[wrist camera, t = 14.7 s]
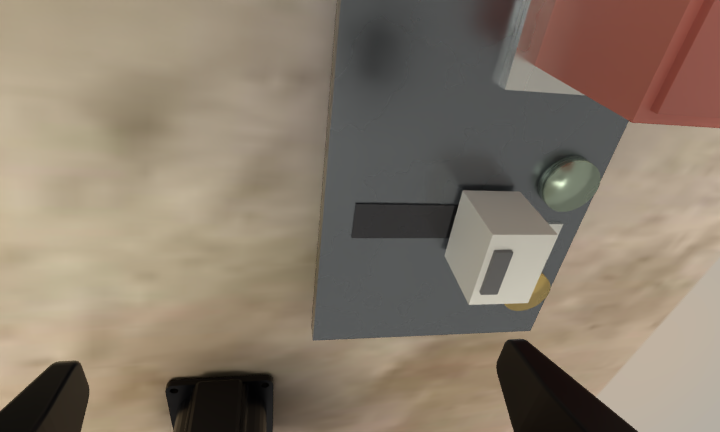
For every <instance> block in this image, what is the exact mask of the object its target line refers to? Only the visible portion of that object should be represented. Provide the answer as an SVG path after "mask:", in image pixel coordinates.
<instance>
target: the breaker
mask: <svg viewBox="0 0 720 432" xmlns="http://www.w3.org/2000/svg"><path fill="white" fill-rule="evenodd" d="M557 236H558V234H557V233H556V232H555V231H554V230H553V228H552V227H551V226H550V225H549V224H548V223H547V222H546V220H545V219H544V218H543V217H542V216H541V215H540V214H539V213H538V211H537V210H536V209H535V208H534V207H533V206H532V205H531V203H530V202H529V201H528V200H527V199H526V198H525V197H524V196H523V194H522V193H521V192H518V191H473V190H463V191H462V195H461V198H460V202H459V205H458V209H457V213H456V216H455V220H454V223H453V227H452V231H451V234H450V238H449V241H448V245H447V248H446V252H445V258H446V260H447V262H448V264H449V266H450V268H451V270H452V272H453V274H454V276H455V278H456V280H457V282H458V284H459V286H460V288H461V290H462V292H463V294H464V296H465V298H466V300H467V302H468V304H469V305H482V304H514V303H528V302H529V299H530V297H531V295H532V293H533V290H534V288H535V286H536V284H537V281H538V279H539V277H540V275H541V272H542V270H543V268H544V266H545V263H546V261H547V259H548V257H549V254H550V252H551V250H552V248H553V245H554V243H555V241H556V238H557Z"/></svg>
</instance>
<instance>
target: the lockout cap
mask: <svg viewBox="0 0 720 432" xmlns="http://www.w3.org/2000/svg"><path fill="white" fill-rule="evenodd" d="M535 66H536V67H537V68H539V69H541V70H543V71H544V72H546V73H548V74H549V75H551V76H553V77H555V78H556V79H558V80H560V81H562V82H563V83H565V84H567V85H568V86H570V87H572V88H574V89H575V90H577V91H579V92H580V93H582V94H584V95H586V96H587V97H589V98H591V99H592V100H594V101H596V102H598V103H599V104H601V105H603V106H604V107H606V108H608V109H610V110H611V111H613V112H615V113H617V114H618V115H620V116H622V117H623V118H625V119H627V120H629V121H630V122H632V123H648V124H664V125H680V126H695V127H711V128H720V0H556V2H555V5H554V8H553V11H552V14H551V17H550V20H549V23H548V26H547V29H546V32H545V35H544V38H543V41H542V44H541V47H540V50H539V53H538V56H537V59H536V63H535Z"/></svg>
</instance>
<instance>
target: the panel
mask: <svg viewBox="0 0 720 432" xmlns="http://www.w3.org/2000/svg"><path fill="white" fill-rule="evenodd" d="M555 2H556V0H337V4H336V17H335V30H334V43H333V56H332V68H331V81H330V94H329V107H328V120H327V132H326V145H325V158H324V171H323V184H322V196H321V209H320V222H319V235H318V247H317V260H316V273H315V286H314V299H313V311H312V324H311V326H312V337H313V340H335V339H357V338H380V337H402V336H425V335H447V334H470V333H492V332H515V331H530V330H531V328H532V326H533V324H534V322H535V320H536V317H537V315H538V313H539V311H540V309H541V307H542V305H543V302H544V300H545V298H546V297H547V295H548V293H549V291H550V288H551V285H552V283H553V281H554V279H555V277H556V275H557V273H558V270H559V268H560V266H561V264H562V262H563V260H564V258H565V256H566V253H567V251H568V249H569V247H570V245H571V243H572V241H573V238H574V236H575V234H576V232H577V230H578V228H579V226H580V224H581V221H582V219H583V217H584V215H585V213H586V211H587V209H588V206H589V204H590V202H591V200H592V198H593V196H594V194H595V193H596V191H597V189H598V187H599V184H600V181H601V179H602V177H603V174H604V172H605V170H606V168H607V166H608V164H609V162H610V160H611V157H612V155H613V153H614V151H615V149H616V147H617V145H618V142H619V140H620V138H621V136H622V134H623V132H624V130H625V128H626V125H627V123H628V121H629V120H627V119H625V118H623V117H622V116H620V115H618V114H617V113H615V112H613V111H611V110H610V109H608V108H606V107H604V106H603V105H601V104H599V103H598V102H596V101H594V100H592V99H591V98H589V97H587V96H586V95H584V94H582V93H580V92H579V91H577V90H575V89H574V88H572V87H570V86H568V85H567V84H565V83H563V82H562V81H560V80H558V79H556V78H555V77H553V76H551V75H549V74H548V73H546V72H544V71H543V70H541V69H539V68H537V67H536V66H535V63H536V59H537V56H538V53H539V50H540V47H541V44H542V41H543V38H544V35H545V32H546V29H547V26H548V23H549V20H550V17H551V14H552V11H553V8H554V5H555ZM463 190H473V191H518V192H521V193H522V194H523V196H524V197H525V198H526V199H527V200H528V201H529V202H530V203H531V205H532V206H533V207H534V208H535V209H536V210H537V211H538V213H539V214H540V215H541V216H542V217H543V218H544V219H545V220H546V222H547V223H548V224H549V225H550V226H551V227H552V228H553V230H554V231H555V232H556V233H557V234H558V236H557V238H556V241H555V243H554V245H553V248H552V250H551V252H550V254H549V257H548V259H547V261H546V263H545V266H544V268H543V270H542V272H541V275H540V277H539V279H538V281H537V284H536V286H535V288H534V290H533V293H532V295H531V297H530V299H529V302H528V303H514V304H482V305H469V304H468V302H467V300H466V298H465V296H464V294H463V292H462V290H461V288H460V286H459V284H458V282H457V280H456V278H455V276H454V274H453V272H452V270H451V268H450V266H449V264H448V262H447V260H446V258H445V252H446V248H447V245H448V241H449V238H450V234H451V231H452V227H453V223H454V220H455V216H456V213H457V209H458V205H459V202H460V198H461V195H462V191H463Z"/></svg>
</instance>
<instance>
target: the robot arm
mask: <svg viewBox="0 0 720 432" xmlns="http://www.w3.org/2000/svg"><path fill="white" fill-rule="evenodd" d="M496 369H497V374H498V378H499V381H500V385H501V388H502V392H503V395H504V399H505V402H506V406H507V409H508V413H509V417H510V420H511V424H512V427H513V430H514V432H638V431H637V430H635V429H634V428H633V427H632V426H630V425H629V424H628V423H627V422H625V421H624V420H623V419H622V418H621V417H619V416H618V415H617V414H616V413H615V412H613V411H612V410H611V409H610V408H609V407H607V406H606V405H605V404H604V403H602V402H601V401H600V400H599V399H598V398H596V397H595V396H594V395H593V394H591V393H590V392H589V391H588V390H587V389H585V388H584V387H583V386H582V385H580V384H579V383H578V382H577V381H576V380H574V379H573V378H572V377H571V376H569V375H568V374H567V373H566V372H565V371H563V370H562V369H561V368H560V367H558V366H557V365H556V364H555V363H554V362H552V361H551V360H550V359H549V358H547V357H546V356H545V355H544V354H543V353H541V352H540V351H539V350H538V349H536V348H535V347H534V346H533V345H532V344H530V343H529V342H528V341H526V340H524V339H510V340H508V341H506V342H505V344H504V347H503V349H502V351H501V354H500V356H499V358H498V360H497V365H496ZM165 392H166V397H167V402H168V407H169V411H170V416H171V421H172V426H173V432H272V429H273V378H272V377H271V376H269V375H257V376H239V377H222V378H205V379H188V380H173V381H170V382H168V383H167V386H166V391H165ZM88 399H89V385H88V382H87V379H86V377H85V374H84V371H83V368H82V365H81V364H80V363H79V362H78V361H59V362H55V363H53V364H52V365H50V366H49V367H48V368H47V369H46V370H45V371H44V372H43V373H42V374H40V375H39V376H38V377H37V378H36V379H35V380H34V381H33V382H32V383H31V384H29V385H28V386H27V387H26V388H25V389H24V390H23V391H22V392H21V393H20V394H18V395H17V396H16V397H15V398H14V399H13V400H12V401H11V402H10V403H9V404H8V405H6V406H5V407H4V408H3V409H2V410H1V411H0V432H81V428H82V424H83V420H84V415H85V411H86V407H87V403H88Z"/></svg>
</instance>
